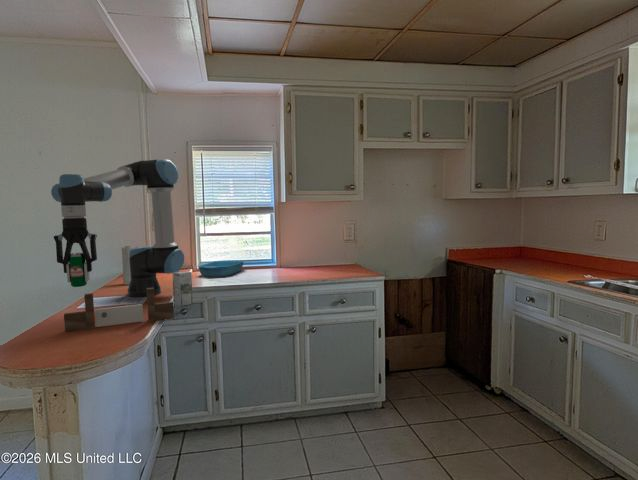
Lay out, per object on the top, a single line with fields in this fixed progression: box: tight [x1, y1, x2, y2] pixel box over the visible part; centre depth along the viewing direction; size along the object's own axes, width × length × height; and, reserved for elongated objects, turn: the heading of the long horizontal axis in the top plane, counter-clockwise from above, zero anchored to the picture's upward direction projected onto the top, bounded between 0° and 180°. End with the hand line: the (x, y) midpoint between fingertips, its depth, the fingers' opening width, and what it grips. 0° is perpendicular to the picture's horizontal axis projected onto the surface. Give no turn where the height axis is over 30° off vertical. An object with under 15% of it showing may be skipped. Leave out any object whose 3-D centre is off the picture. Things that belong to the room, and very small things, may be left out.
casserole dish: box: [197, 259, 245, 278], centre depth 260 cm, size 37×22×7 cm, turn 171°
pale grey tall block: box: [121, 245, 138, 286], centre depth 227 cm, size 7×6×21 cm
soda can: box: [68, 252, 88, 288], centre depth 147 cm, size 5×5×12 cm
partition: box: [63, 288, 175, 333], centre depth 145 cm, size 3×35×12 cm, turn 116°
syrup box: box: [172, 270, 193, 308], centre depth 173 cm, size 6×6×14 cm
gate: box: [95, 303, 144, 328], centre depth 144 cm, size 15×3×6 cm, turn 116°
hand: (78, 281), depth 147 cm, fingers closed on soda can, 5 cm apart
